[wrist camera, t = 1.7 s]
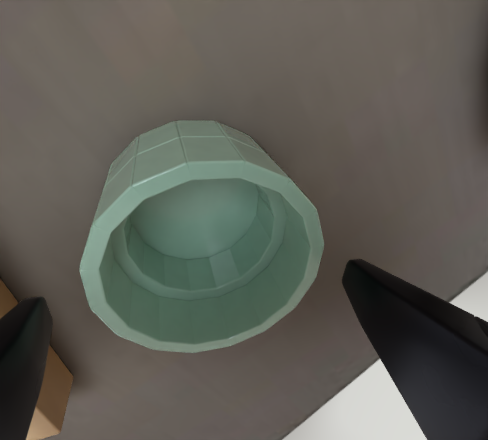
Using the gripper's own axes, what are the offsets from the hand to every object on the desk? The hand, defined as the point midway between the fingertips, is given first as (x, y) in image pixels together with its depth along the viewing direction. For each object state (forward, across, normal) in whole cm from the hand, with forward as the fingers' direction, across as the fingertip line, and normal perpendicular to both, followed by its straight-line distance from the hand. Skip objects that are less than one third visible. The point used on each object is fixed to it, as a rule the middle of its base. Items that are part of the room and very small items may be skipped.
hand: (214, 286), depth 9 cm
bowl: (+6, 0, 0) cm, 6 cm away
